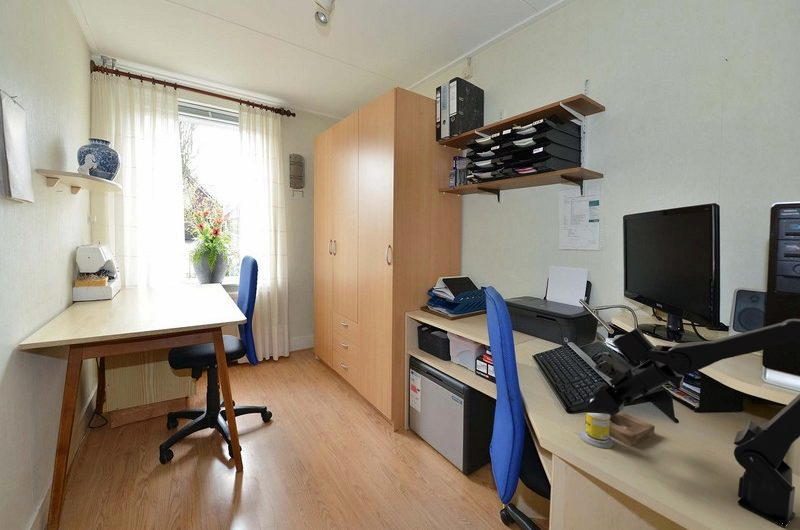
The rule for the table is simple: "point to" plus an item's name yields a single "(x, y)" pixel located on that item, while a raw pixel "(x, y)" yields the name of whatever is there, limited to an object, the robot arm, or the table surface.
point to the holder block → (629, 429)
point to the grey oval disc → (597, 444)
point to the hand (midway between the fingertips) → (592, 405)
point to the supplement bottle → (597, 426)
